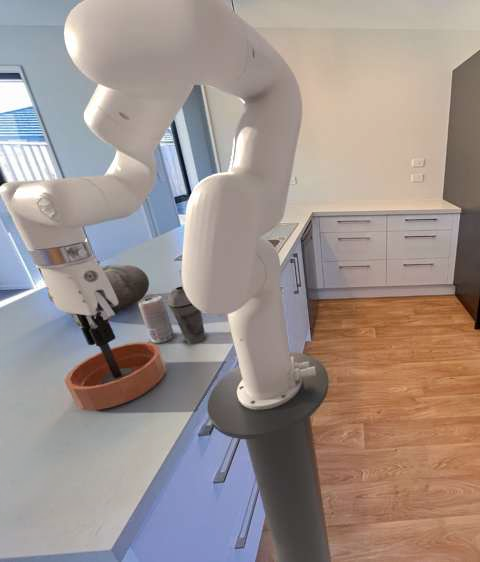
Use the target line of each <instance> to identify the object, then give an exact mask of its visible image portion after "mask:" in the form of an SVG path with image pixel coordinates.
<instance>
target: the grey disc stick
mask: <svg viewBox="0 0 480 562" xmlns="http://www.w3.org/2000/svg"><path fill="white" fill-rule="evenodd" d="M88 323H89V322H88ZM110 348H111V347H110V344H109V342H108V343H106V344H105V345H103V346H101V347H99V349H100V352H102V354H103V356H104V358H105V360H106V362H107V365H108V367H109V369H110V371H111V373H109V374H108V375H106V376H105V377H104V378H103V379H102V384H105V383H109V382H112V381H115V380H118V379H120V378H123V377H125V376H127V375H130V374H132V373H133V369H131V368H122V369H119V367H118V364H117V362H116V360H115V358H114V355H113V353H112V351H111V349H110Z"/></svg>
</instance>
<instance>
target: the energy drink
mask: <svg viewBox="0 0 480 562" xmlns="http://www.w3.org/2000/svg"><path fill="white" fill-rule="evenodd" d="M138 308H139V310H140V314H141V316H142V319H143V322H144V324H145V327H146V330H147V332H148V335H149V339H150V341H151V343H153V344H163V343H166V342H168V341H170V340H171V339H173V338H174V336H175V331H174V329H173V326H172V323H171V319H170V316H169V313H168V311H167V308H166V305H165V301H164V299H163V298H162V296H161V295H151V296H147V297H143V298H142V299H141V300H140V301H138Z"/></svg>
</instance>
